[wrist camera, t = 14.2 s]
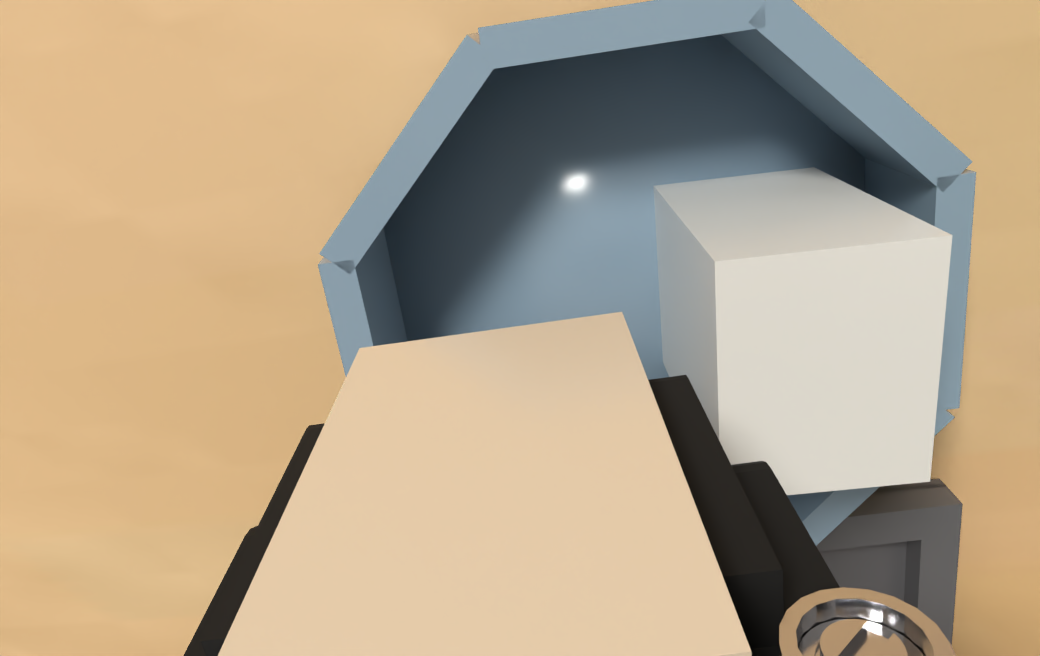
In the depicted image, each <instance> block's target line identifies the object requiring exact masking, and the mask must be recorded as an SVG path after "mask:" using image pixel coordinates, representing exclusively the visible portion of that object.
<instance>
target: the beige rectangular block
mask: <svg viewBox="0 0 1040 656" xmlns="http://www.w3.org/2000/svg"><path fill="white" fill-rule="evenodd" d="M218 656H752V653H751V649H750V647H749V644H748V641H747V639H746V636H745V633H744V631H743V628H742V625H741V623H740V620H739V618H738V615H737V612H736V610H735V607H734V604H733V602H732V599H731V597H730V594H729V591H728V589H727V586H726V583H725V581H724V578H723V576H722V573H721V570H720V568H719V565H718V562H717V560H716V557H715V555H714V552H713V549H712V547H711V544H710V541H709V539H708V536H707V534H706V531H705V528H704V526H703V523H702V520H701V518H700V515H699V512H698V510H697V507H696V505H695V502H694V499H693V497H692V494H691V491H690V489H689V486H688V484H687V481H686V478H685V476H684V473H683V470H682V468H681V465H680V463H679V460H678V457H677V455H676V452H675V449H674V447H673V444H672V442H671V439H670V436H669V434H668V431H667V428H666V426H665V423H664V421H663V418H662V415H661V413H660V410H659V407H658V405H657V402H656V400H655V397H654V394H653V392H652V389H651V386H650V384H649V381H648V378H647V376H646V373H645V371H644V368H643V365H642V363H641V360H640V357H639V355H638V352H637V350H636V347H635V344H634V342H633V339H632V336H631V334H630V331H629V329H628V326H627V323H626V321H625V318H624V315H623V313H622V312H616V313H609V314H602V315H595V316H587V317H580V318H573V319H566V320H559V321H551V322H544V323H537V324H530V325H523V326H515V327H508V328H501V329H494V330H487V331H479V332H472V333H465V334H458V335H450V336H443V337H436V338H429V339H422V340H414V341H407V342H400V343H393V344H386V345H378V346H371V347H364V348H359V350H358V353H357V355H356V357H355V359H354V361H353V363H352V366H351V368H350V370H349V372H348V374H347V376H346V379H345V381H344V383H343V385H342V387H341V389H340V392H339V394H338V396H337V398H336V400H335V402H334V405H333V407H332V409H331V411H330V413H329V415H328V418H327V420H326V422H325V424H324V426H323V428H322V431H321V433H320V435H319V437H318V439H317V441H316V444H315V446H314V448H313V450H312V452H311V454H310V457H309V459H308V461H307V463H306V465H305V467H304V470H303V472H302V474H301V476H300V478H299V481H298V483H297V485H296V487H295V489H294V491H293V494H292V496H291V498H290V500H289V502H288V504H287V507H286V509H285V511H284V513H283V515H282V517H281V520H280V522H279V524H278V526H277V528H276V530H275V533H274V535H273V537H272V539H271V541H270V543H269V546H268V548H267V550H266V552H265V554H264V556H263V559H262V561H261V563H260V565H259V567H258V569H257V572H256V574H255V576H254V578H253V580H252V582H251V585H250V587H249V589H248V591H247V593H246V595H245V598H244V600H243V602H242V604H241V606H240V608H239V611H238V613H237V615H236V617H235V619H234V621H233V624H232V626H231V628H230V630H229V632H228V634H227V637H226V639H225V641H224V643H223V645H222V648H221V650H220V652H219V654H218Z"/></svg>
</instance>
